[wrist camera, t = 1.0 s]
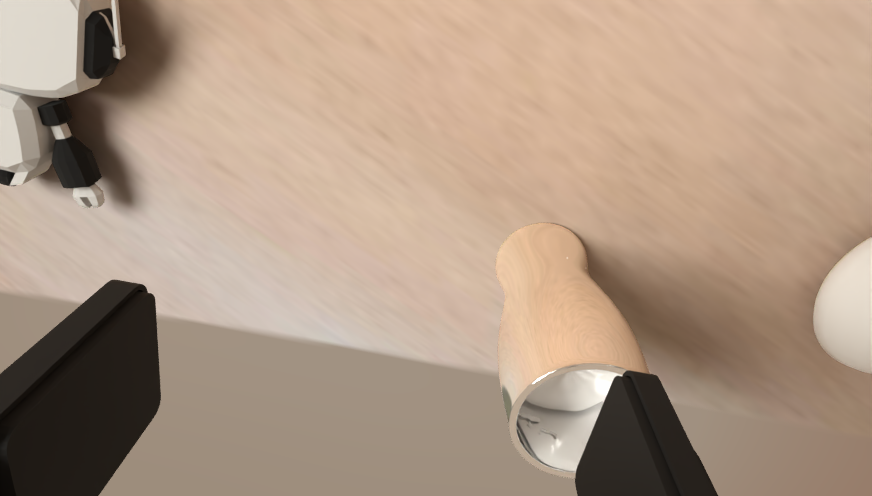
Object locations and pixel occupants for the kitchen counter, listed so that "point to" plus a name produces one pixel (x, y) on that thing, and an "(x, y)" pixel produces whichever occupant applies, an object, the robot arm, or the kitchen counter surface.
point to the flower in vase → (847, 309)
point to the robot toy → (52, 87)
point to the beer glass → (556, 346)
